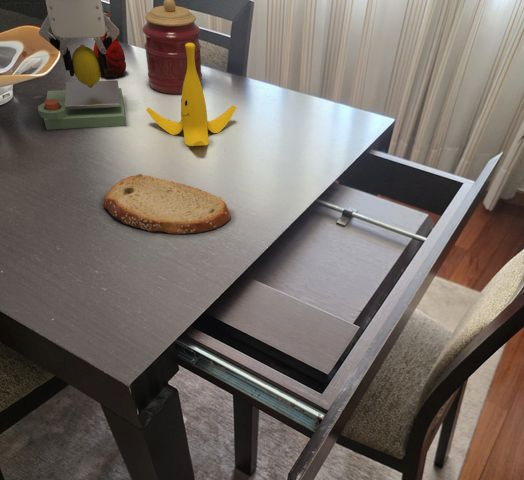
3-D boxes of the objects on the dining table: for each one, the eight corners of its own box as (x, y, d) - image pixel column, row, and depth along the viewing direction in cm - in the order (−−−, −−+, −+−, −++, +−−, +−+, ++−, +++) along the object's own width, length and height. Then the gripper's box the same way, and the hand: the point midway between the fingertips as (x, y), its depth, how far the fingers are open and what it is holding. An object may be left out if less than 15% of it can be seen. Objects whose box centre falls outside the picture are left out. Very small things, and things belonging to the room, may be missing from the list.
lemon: (94, 94, 101) (86, 51, 95) (71, 89, 102) (62, 46, 96) (109, 85, 104) (102, 43, 98) (87, 80, 105) (78, 38, 99)
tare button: (45, 111, 99) (43, 104, 98) (46, 106, 100) (44, 99, 99) (60, 111, 99) (58, 104, 98) (60, 105, 101) (58, 98, 100)
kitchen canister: (184, 99, 114) (178, 10, 101) (138, 87, 117) (126, -1, 104) (211, 81, 122) (209, -4, 109) (167, 71, 125) (160, -13, 112)
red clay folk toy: (128, 69, 124) (117, -1, 113) (126, 80, 120) (116, 7, 109) (97, 69, 123) (84, -2, 112) (94, 80, 119) (80, 7, 108)
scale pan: (65, 109, 99) (64, 106, 98) (67, 84, 107) (66, 82, 107) (120, 106, 101) (120, 103, 101) (118, 83, 109) (117, 80, 109)
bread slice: (238, 222, 81) (238, 202, 78) (136, 253, 74) (133, 233, 71) (190, 174, 91) (188, 154, 88) (96, 197, 84) (91, 177, 81)
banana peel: (199, 159, 95) (194, 64, 82) (146, 124, 104) (134, 34, 91) (262, 137, 102) (267, 47, 90) (208, 106, 112) (205, 21, 99)
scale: (42, 130, 100) (36, 113, 97) (46, 100, 110) (41, 84, 107) (126, 126, 103) (123, 109, 100) (122, 97, 113) (120, 81, 110)
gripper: (114, -40, 92) (129, 66, 105) (17, -42, 88) (45, 68, 102) (116, -31, 87) (131, 79, 100) (13, -32, 83) (43, 81, 97)
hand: (87, 72), depth 101 cm, fingers closed on lemon, 5 cm apart
